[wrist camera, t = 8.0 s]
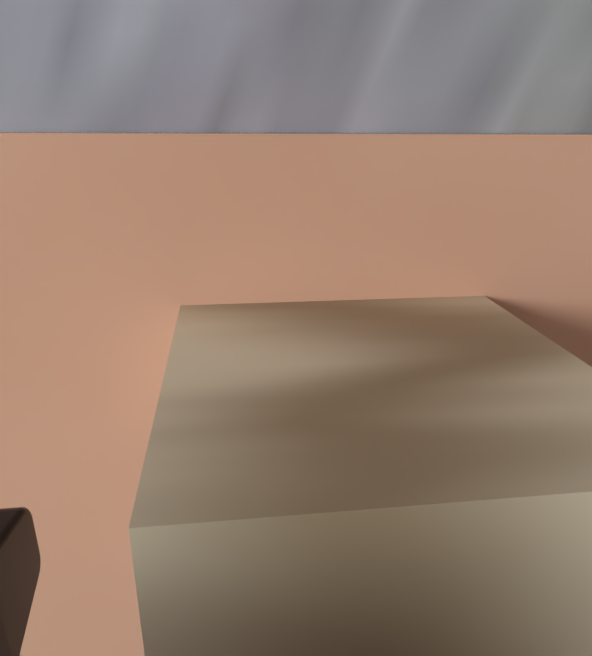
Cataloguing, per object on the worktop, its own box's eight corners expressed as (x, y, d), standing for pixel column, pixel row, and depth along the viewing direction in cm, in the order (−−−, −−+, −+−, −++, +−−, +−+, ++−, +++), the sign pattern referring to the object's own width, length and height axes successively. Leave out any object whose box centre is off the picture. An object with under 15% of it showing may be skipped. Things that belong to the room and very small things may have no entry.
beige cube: (484, 295, 9) (759, 477, 4) (449, 546, 11) (616, 858, 6) (180, 304, 8) (128, 528, 4) (199, 569, 10) (180, 932, 6)
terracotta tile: (682, 134, 9) (711, 135, 9) (572, 587, 13) (587, 608, 12) (-84, 132, 8) (-107, 132, 7) (34, 643, 11) (24, 670, 11)
